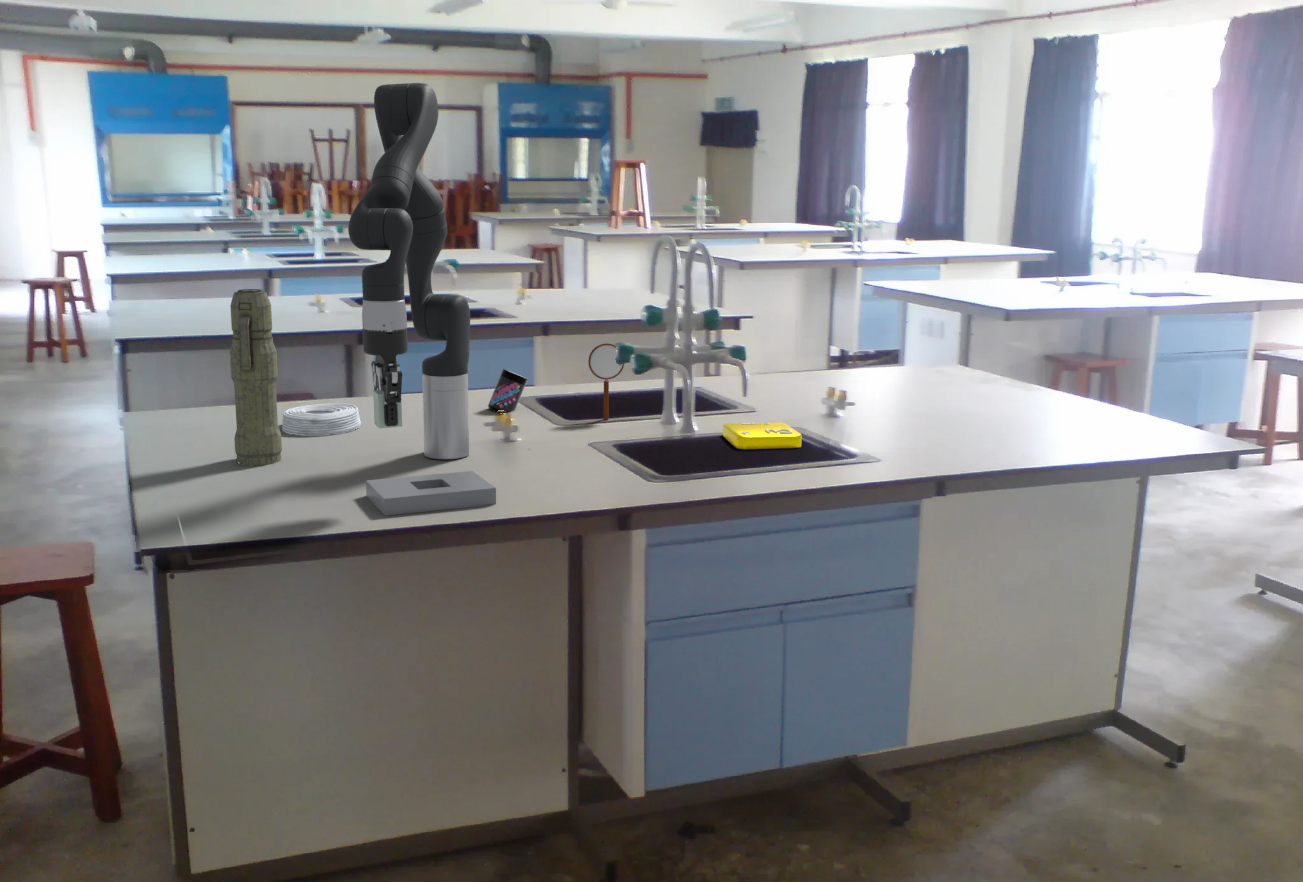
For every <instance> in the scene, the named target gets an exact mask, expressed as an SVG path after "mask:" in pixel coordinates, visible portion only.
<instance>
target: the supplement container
mask: <svg viewBox="0 0 1303 882" xmlns="http://www.w3.org/2000/svg"><path fill="white" fill-rule="evenodd" d="M528 380H529V379H528V378H527V377H524V376H522V375H520V374H517V373H515V372H512V371H510V370H508V369H505V368H502V370H501V372H500V375H499V378H498V380H497V382H496V385H495V387H494V390H493V392H492V395H491V397H490V399H489V401H488V404H487V408H488V409H489V410H491V411H493V412H496V413H498V412H497V411H498V410H504V411H506V412H505V413H508V412H509V413H510V412H514V411H515V410H516V408H517V406H518V404H519V401H520V399H521V397H522V396H523V395H522V394H523V392H524V391H525V387H526V385H527V382H528Z"/></svg>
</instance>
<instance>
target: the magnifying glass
mask: <svg viewBox="0 0 1303 882" xmlns="http://www.w3.org/2000/svg"><path fill="white" fill-rule="evenodd" d="M616 347H618V346H617V345H615V344H614V343H610V342H609V343H607V342H605V343H601V344H598V345H596V346H595V347H594V348H593V349H592V350H591V352H590V353H589V356H588V368H589V370H590V372H591V373H592V375H594V376H595V377H596V378H598V379H601V380H603V421H609V411H610V410H609V408H610V407H609V405H610V404H609V400H610V398H609V397H610V394H609V393H610V390H609V389H610V388H609V387H610V386H609V385H610V382H609V380H611V379H614V378H616V377H618V376H619V375H620V374H621V372H622V371H623V369H624V367H625V363H624V364H623V365H621V366H619V365H618V364H617V363H616V360H615V358H616Z"/></svg>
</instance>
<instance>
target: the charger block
mask: <svg viewBox="0 0 1303 882" xmlns="http://www.w3.org/2000/svg"><path fill="white" fill-rule="evenodd" d="M372 394H373V415H374V416H373V417H374V419H373V421H374V425H375V426H376V427H377V428H378V429H388V428H390V429H391V428H401V427H403V411H402V409H403V408H402V407H403V406H402V402H401V403H399V404H397V410H398V424H397V425H396V426H386V425H385V422H384V403H383V393H382V392H381V391H380V390H373V391H372ZM390 396H394V392H390Z"/></svg>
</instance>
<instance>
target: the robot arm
mask: <svg viewBox="0 0 1303 882" xmlns="http://www.w3.org/2000/svg"><path fill="white" fill-rule="evenodd" d="M373 106H374V114H375V119H376V124H377V127H378V132H379V135H380V136H379V137H380V139H381V143H382V147H383V152H384V153H383V154H382V155H381V156H380V158H379V159H378V160H377V162H376V164H375V166H374V169H373V172H372V176H371V180H370V184H369V188H368V189H367V191H366V193H365V194H364V196H363V197H362V199H361V200H360V201H359V202H358V204H357V205H356V206H355V208H354V209H353V211H352V213H351V215H350V218H349V221H348V231H347V232H348V237H349V240H350V241H351V243H352V244H353V246H354V247H356V248H357V249H359V250H363V251H389V256H388V258H387V259H386V260H385V261H383V262H379V263H374V264H369V265H366V266H365V267H364V268H363V269H362V271H361V284H362V285H361V287H362V289H361V291H362V309H361V310H362V311H361V320H362V321H361V322H362V323H361V326H362V345H363V348H362V349H363V353H365V354H366V355H369V356H375V360H373V361H371V363H370V364H371V369H372V370H371V371H372V381H373V388H374V390H380V391H381V392H382V393H383V403H384V422H385V425H386V426H396V425H397V424H398V410H397V404H399V403H401V404H402V387H403V386H402V383H403V372H402V371H401V367H400V366H401V365H400V364H398V361H397V357H398V355H404V354H406V353H407V352H408V351H409V350H408V349H409V346H408V341H409V340H408V319H407V318H408V317H407V316H408V315H407V314H408V312H407V308H406V301H405V272H407V281H408V291H409V293H408V294H409V302H410V312H411V319H412V320H411V321H412V324H413V328H414V331H415V333H416V334H417V336H418V337H419V338H421V339H424V340H432V341H433V340H434V341H445V348H444V350H443V351H442V352H440V353H438V354H436V355H432V356H429V357H426V358H425V359H423V361H422V364H421V373H422V374H421V376H422V379H421V381H422V411H423V413H422V414H423V417H422V418H423V419H422V420H423V452H424V453H423V455H424V457H426V458H429V459H433V460H455V459H457V460H458V459H462V458H465V457H466V458H467V457H469V455H470V437H469V436H470V430H469V429H470V428H469V427H470V426H469V425H470V423H469V421H470V419H469V416H470V415H469V376H468V375H469V372H468V368H469V360H470V359H469V358H470V337H471V336H470V334H471V331H470V330H471V310H470V307H469V306H470V305H469V302H468V301H467V298H466V297H464V296H463V295H455V294H453V295H452V294H434V292H433V287H432V272H433V269H434V266H435V264H436V261H437V259H438V257H439V255H440V254H441V251H442V249H443V247H444V244H445V242H446V239H447V236H448V225H447V224H448V223H447V217H446V211H445V206H444V201H443V197H442V195H441V194H440V192H439V191H438V189H437V188H436V187H435V186H434V185H433V183H432V182H431V181H430V180H429V178H428V177H427V176H426V175H425V174H424V172H422V170H421V169H420V168H419V165H420V163H421V161H422V159H423V157H424V155H425V153H426V151H427V148H428V146H429V144H430V142H431V140H432V138H433V136H434V133H435V131H436V127H437V125H438V120H439V119H438V118H439V104H438V99H437V96H436V91H435V90H434V89H433V87H432V86H431V85H430V84H428V83H425V82H422V83H421V82H411V83H409V82H406V83H405V82H404V83H395V84H394V83H393V84H387V83H386V84H382V85H379V86H377V87H376V89H375V91H374V95H373ZM405 269H406V271H405ZM390 392H394V396H390Z"/></svg>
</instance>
